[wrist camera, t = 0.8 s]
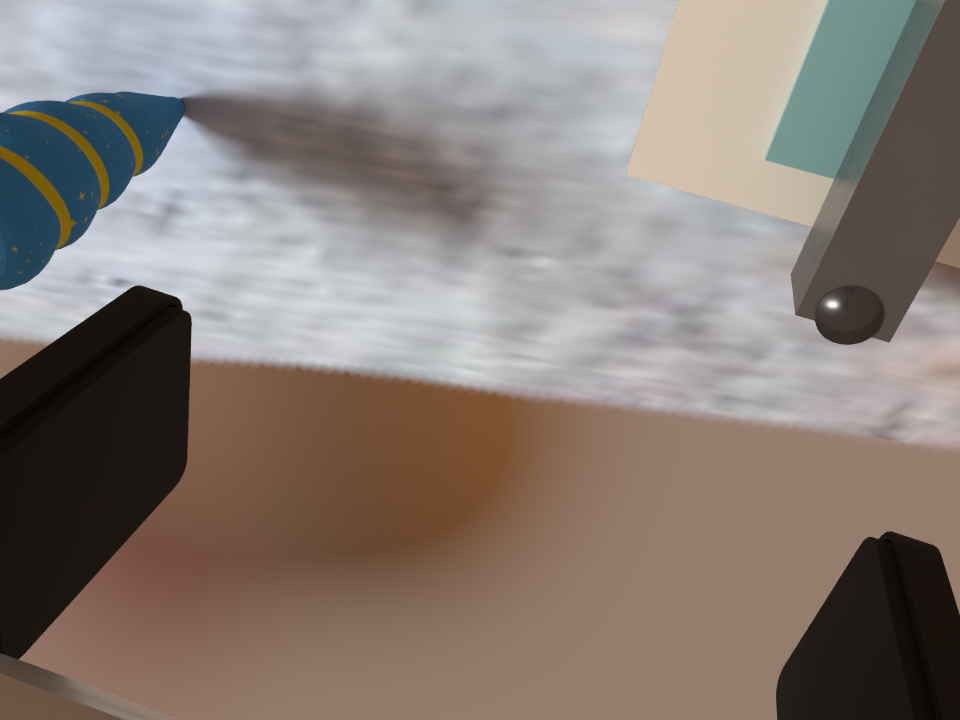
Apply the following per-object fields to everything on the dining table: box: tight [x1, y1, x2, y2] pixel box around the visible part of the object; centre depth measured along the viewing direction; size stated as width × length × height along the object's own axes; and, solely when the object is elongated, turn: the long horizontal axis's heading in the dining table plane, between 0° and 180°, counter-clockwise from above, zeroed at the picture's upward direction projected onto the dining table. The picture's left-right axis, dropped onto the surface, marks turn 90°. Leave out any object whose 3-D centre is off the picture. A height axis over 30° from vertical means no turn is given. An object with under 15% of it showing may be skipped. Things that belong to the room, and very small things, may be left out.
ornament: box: [0, 92, 185, 290], centre depth 30 cm, size 5×5×15 cm
